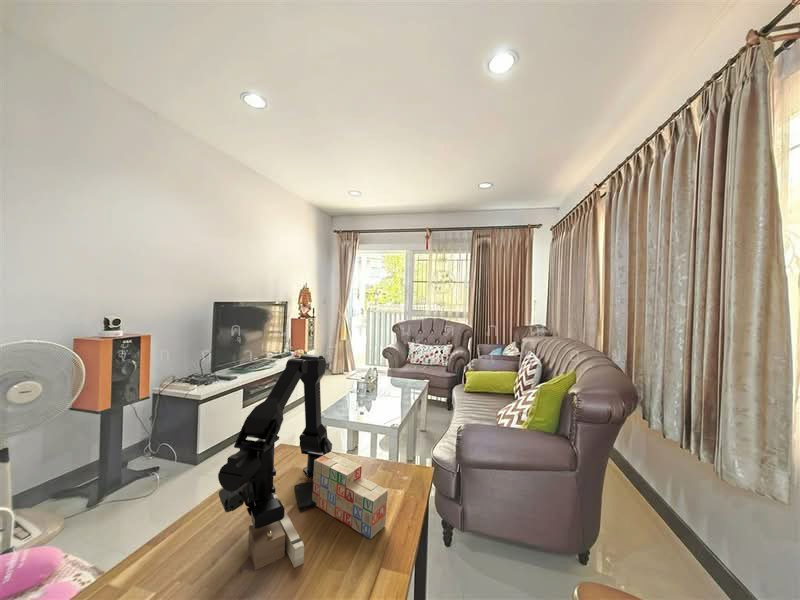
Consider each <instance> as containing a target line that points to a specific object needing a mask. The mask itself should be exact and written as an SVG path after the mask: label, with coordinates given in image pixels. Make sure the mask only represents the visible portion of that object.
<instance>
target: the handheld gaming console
mask: <svg viewBox="0 0 800 600" xmlns="http://www.w3.org/2000/svg"><path fill="white" fill-rule="evenodd" d="M294 492H295V496H296V497H295V498H296V501H297V506H298V510H299V511H300V512H301V511H303V510H307V509H311V508H315V507H317V506H316V503H315V502H314V501H312V493H313V479H312V480H311V481H306V482H302V483H299V484H295V485H294Z"/></svg>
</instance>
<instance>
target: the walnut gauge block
mask: <svg viewBox="0 0 800 600" xmlns="http://www.w3.org/2000/svg"><path fill="white" fill-rule="evenodd" d="M247 537H248V539H247V549H248V552H249V555H250V557H251V561H252V564H253V567H254V570H255V571H257V570H259V569H261V568H264V567H266V566H267V565H270V564H271V563H274V562H276V561H279V560H280V559H283V558H284V557H285V554H286V553H285V551H286V549H285V533H284V531H283V529H282V527H281V525H280V523H279V521H277V522H274V523H272V524H269V525H266V526H264V527H261V528H259V529H256V528H254V526H253V524H251V525H250V526H248V535H247Z"/></svg>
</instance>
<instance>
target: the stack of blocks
mask: <svg viewBox="0 0 800 600" xmlns="http://www.w3.org/2000/svg"><path fill="white" fill-rule="evenodd" d="M362 469H363V467H362V465H360V464H359V463H356V462H353V460H352V461H351V460H350V459H347V458H345V457H343V456H340V455H338V454H336V453H335V452H332V451H331V452H329V453H327V454H325V455H323V456H321V457H319V458H317V459H315V460H314V472H313V478H312V480H313V493H312V501H314V502H315V503H316V506H315V507H318V508H319V509H320V510H321V511H323V512H325V513H327V514H328V515H330V516H331V517H333V518H335V519H338V520H339V521H340V522H342V523H344V524H345V525H347V526H349V527H351V528H352V529H353V530H354V531H357V532H358V533H360V535H361V534H362V535H363V536H364V537H366V538H368V539H370V540H371V539H372V538H374V536H376V535H377V534H378V533H379V532H381V530H382V529H383V528H385V526H386V515H387V504H388V493H389V491H388V489H387V488H385V487H382V485H378V484H376V483H375V482H372V481H371V480H369V479H366V478H364V477H362Z"/></svg>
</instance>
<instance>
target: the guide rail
mask: <svg viewBox="0 0 800 600" xmlns="http://www.w3.org/2000/svg"><path fill="white" fill-rule="evenodd" d="M276 492H277V491H275V493H272V494H273V496H274V499H275V498H277V499H279V497H278V495H277V493H276ZM279 523H280V525H281V527H282V529H283V531H284V533H285V551H286V553H287V555H288V558H289V559H290V562H291V563H292V566H293V568H297V567H299V566H302V565H303V564H304V561H305V560H304V559H305V545H304V542H303V539H302V538H301V536H300V535H299V534H298V532H297V530H296V528H295V526H294V524H293V522H292V520H291V518H290V517H289V515H288V513H287V511H286V510H285V512H284V518H283V519H282V520H279Z"/></svg>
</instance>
